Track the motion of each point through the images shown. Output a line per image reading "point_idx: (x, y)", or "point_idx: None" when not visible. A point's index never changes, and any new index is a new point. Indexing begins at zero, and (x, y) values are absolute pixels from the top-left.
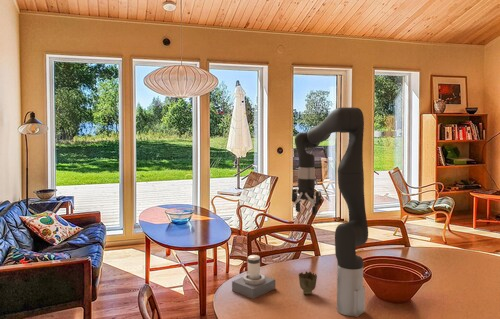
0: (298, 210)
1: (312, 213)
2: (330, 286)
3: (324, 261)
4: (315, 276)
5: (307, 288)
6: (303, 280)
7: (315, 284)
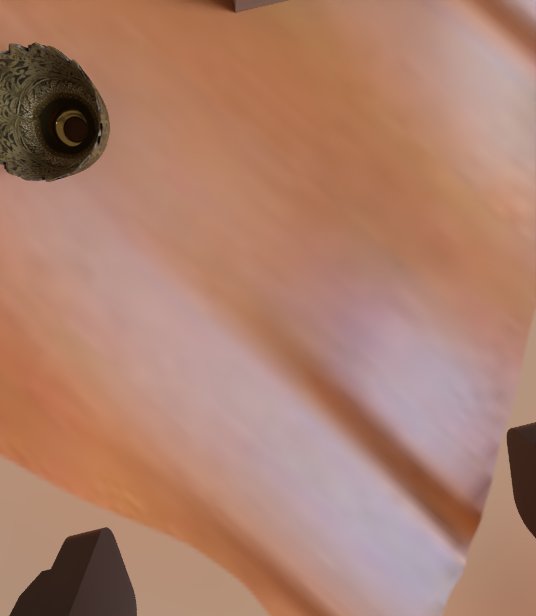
0: (528, 472)
1: (88, 541)
2: (92, 309)
3: (385, 528)
4: (26, 173)
5: (20, 86)
6: (13, 52)
7: (7, 145)
